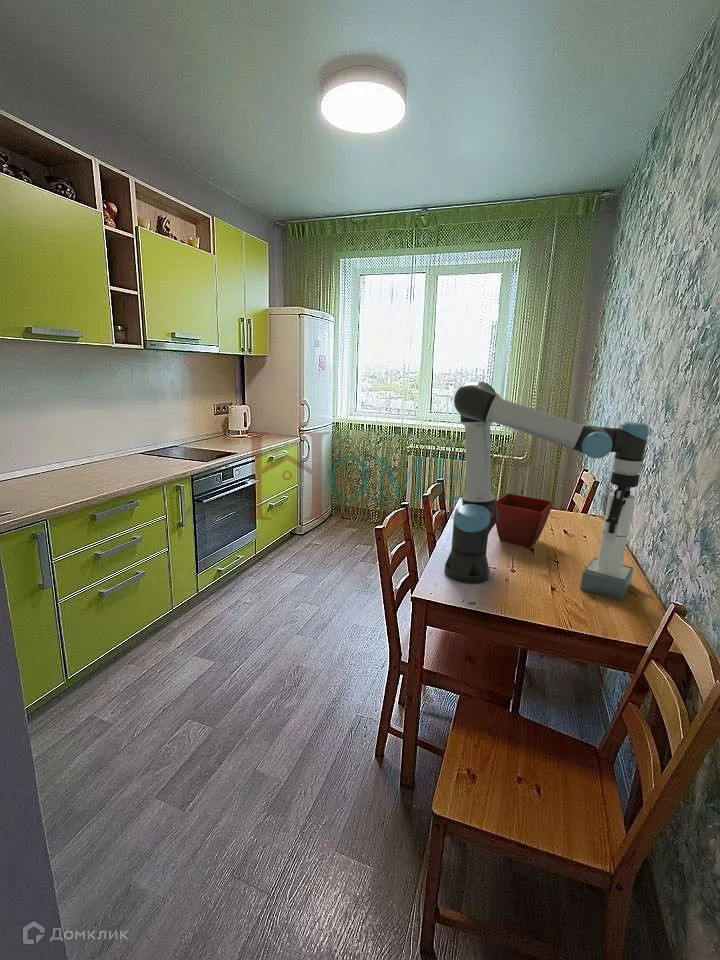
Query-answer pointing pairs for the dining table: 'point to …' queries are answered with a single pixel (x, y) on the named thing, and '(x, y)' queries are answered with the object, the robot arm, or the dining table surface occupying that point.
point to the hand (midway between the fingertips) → (613, 536)
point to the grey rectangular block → (606, 581)
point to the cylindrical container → (614, 553)
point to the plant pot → (521, 518)
